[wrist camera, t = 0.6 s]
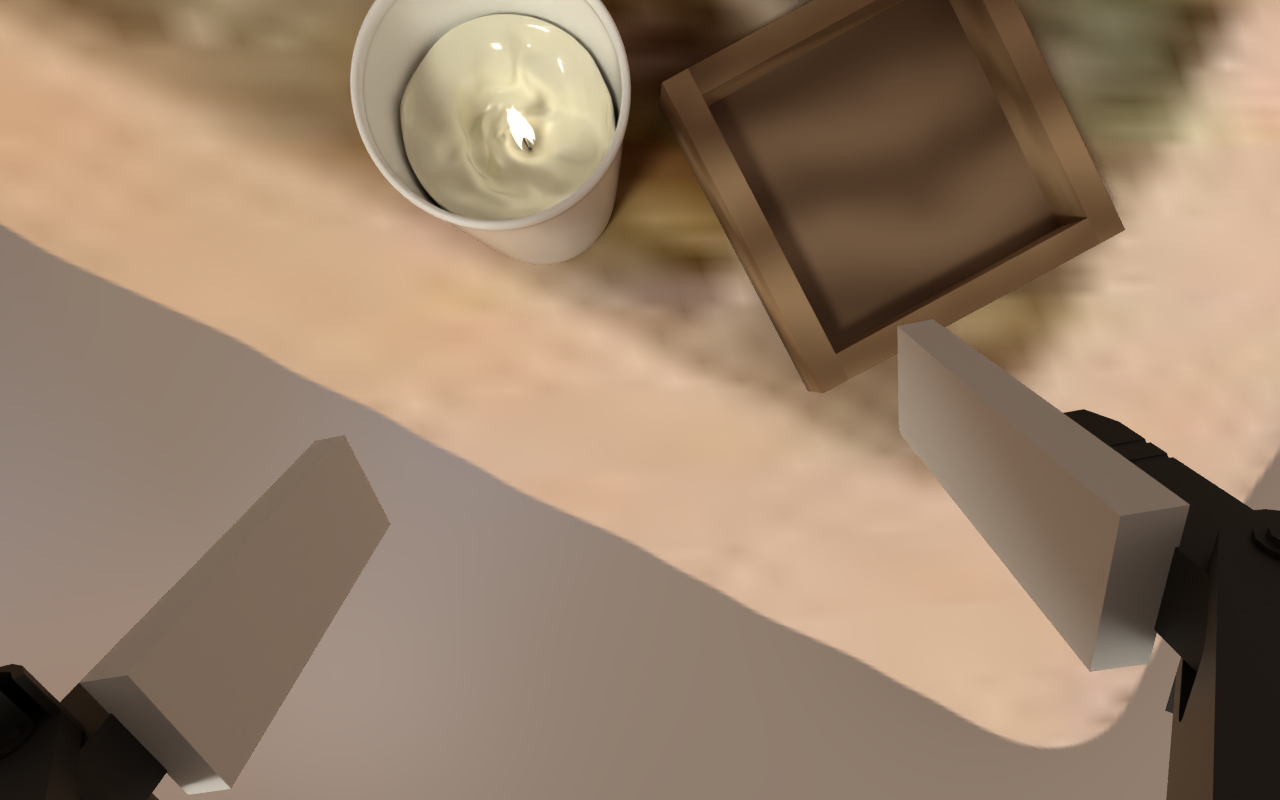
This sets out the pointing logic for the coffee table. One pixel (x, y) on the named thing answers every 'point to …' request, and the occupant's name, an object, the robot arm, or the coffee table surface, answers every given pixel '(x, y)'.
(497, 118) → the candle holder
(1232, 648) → the robot arm
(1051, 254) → the walnut tray
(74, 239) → the coffee table surface
